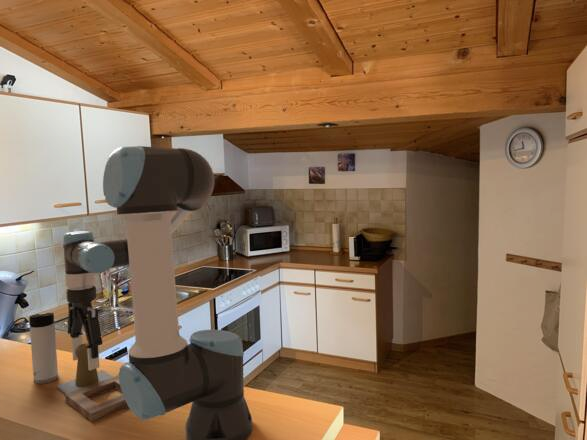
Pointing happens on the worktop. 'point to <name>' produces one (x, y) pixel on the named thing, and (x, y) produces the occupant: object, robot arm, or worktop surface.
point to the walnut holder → (87, 406)
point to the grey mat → (72, 386)
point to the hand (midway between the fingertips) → (85, 363)
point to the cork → (84, 368)
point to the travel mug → (43, 348)
